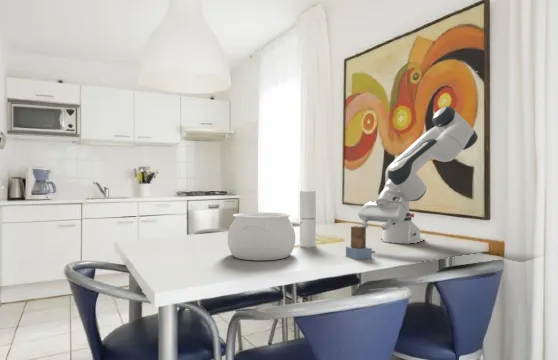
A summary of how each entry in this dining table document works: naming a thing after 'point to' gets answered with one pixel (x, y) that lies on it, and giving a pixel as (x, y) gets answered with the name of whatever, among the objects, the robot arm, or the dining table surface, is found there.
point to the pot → (261, 236)
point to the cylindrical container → (308, 218)
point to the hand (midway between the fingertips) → (373, 228)
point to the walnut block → (358, 237)
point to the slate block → (358, 252)
